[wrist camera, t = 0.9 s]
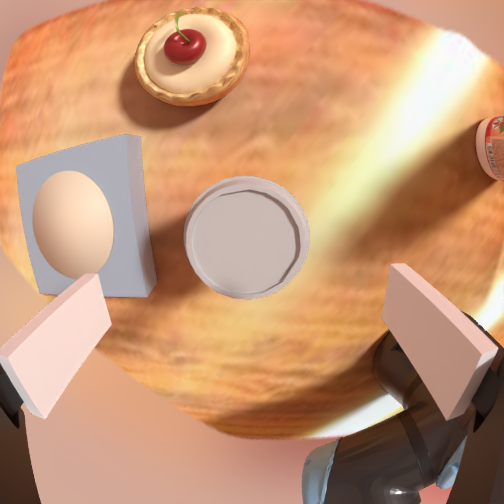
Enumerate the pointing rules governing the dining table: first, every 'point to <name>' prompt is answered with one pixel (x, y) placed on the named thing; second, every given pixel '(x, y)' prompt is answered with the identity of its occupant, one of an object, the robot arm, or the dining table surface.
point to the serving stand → (88, 217)
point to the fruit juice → (491, 146)
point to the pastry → (192, 56)
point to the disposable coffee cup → (246, 237)
